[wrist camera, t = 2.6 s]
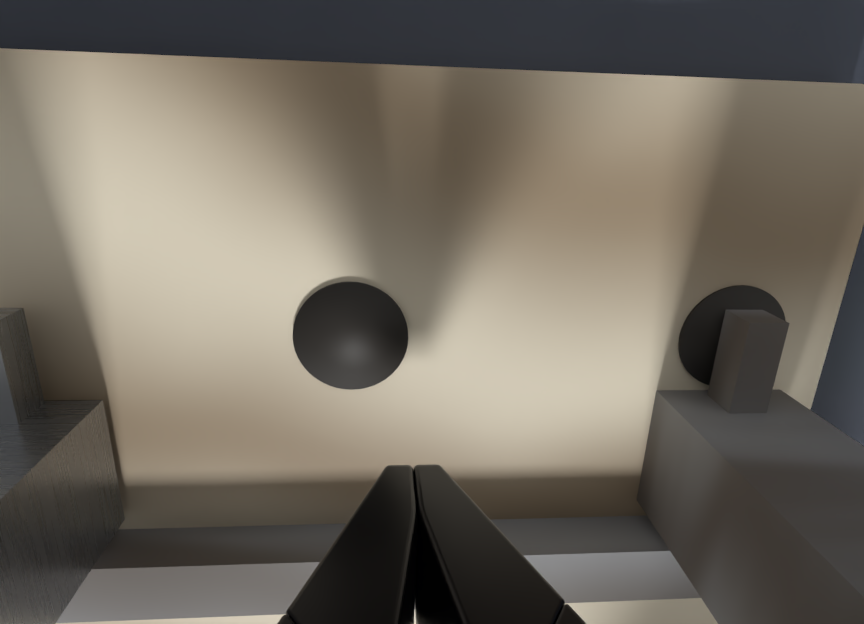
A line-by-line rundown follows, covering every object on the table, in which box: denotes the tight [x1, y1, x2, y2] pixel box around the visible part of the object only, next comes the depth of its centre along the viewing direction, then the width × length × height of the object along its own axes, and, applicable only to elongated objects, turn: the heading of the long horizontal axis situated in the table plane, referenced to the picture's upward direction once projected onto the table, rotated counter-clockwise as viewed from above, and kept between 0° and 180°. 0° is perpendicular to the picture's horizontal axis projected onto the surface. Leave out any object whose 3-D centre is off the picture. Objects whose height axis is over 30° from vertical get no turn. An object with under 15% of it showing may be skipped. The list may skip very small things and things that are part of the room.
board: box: [0, 48, 864, 624], centre depth 8 cm, size 14×25×7 cm, turn 88°
